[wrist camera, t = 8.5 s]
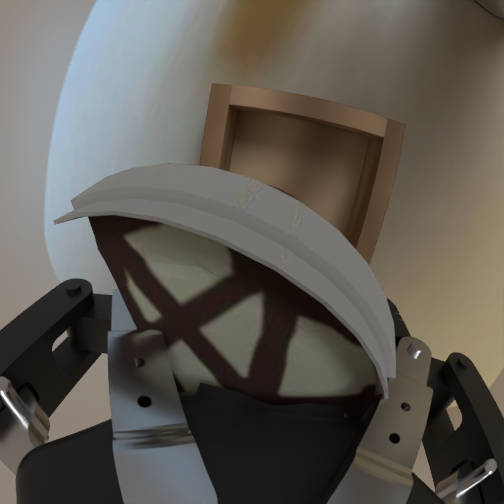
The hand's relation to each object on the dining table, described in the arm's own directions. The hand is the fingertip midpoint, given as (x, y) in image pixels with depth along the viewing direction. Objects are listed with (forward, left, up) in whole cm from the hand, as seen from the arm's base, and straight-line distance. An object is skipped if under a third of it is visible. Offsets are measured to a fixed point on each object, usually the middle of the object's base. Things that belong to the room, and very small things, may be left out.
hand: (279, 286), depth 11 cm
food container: (-1, 0, -3) cm, 4 cm away
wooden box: (0, 0, -10) cm, 10 cm away
